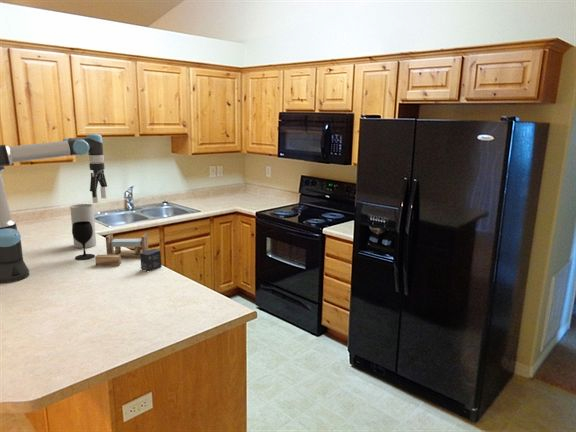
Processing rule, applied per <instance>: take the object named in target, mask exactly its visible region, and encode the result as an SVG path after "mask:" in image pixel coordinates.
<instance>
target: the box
mask: <svg viewBox="0 0 576 432" xmlns="http://www.w3.org/2000/svg"><path fill="white" fill-rule="evenodd" d="M161 254H162V253H161V250H160V249H156V248H152V249H148V251H145V252H142V253H140V258H139V260H140V270H141V269H142V271H143V270H146V271H145V272H147V271H149V272H151V271H153V269H154V270H156V269H159V268H162V255H161ZM150 270H151V271H150Z"/></svg>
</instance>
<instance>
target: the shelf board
mask: <svg viewBox="0 0 576 432" xmlns="http://www.w3.org/2000/svg"><path fill="white" fill-rule="evenodd" d="M111 245H112V247H114V248H115V247H121V248H126V247H127V248H131V247H132V248H135V247H140V248H142V238H113V241H112V242H111Z"/></svg>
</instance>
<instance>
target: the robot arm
mask: <svg viewBox="0 0 576 432" xmlns="http://www.w3.org/2000/svg"><path fill="white" fill-rule="evenodd" d="M86 154H88V163H89V165H88V167H89V170H90V171H92V172H90V186H89V192H91V195H92V196H91V198H92V204H99V195H98V194H99V193H98V186H99V185H100V187H99V188H100V199H107V189H106V188H108V183H107V179H106V175H105V163H104V162H105V156H104V146H103V136H102V135H101V134H99V133H90V134H87V135H86V137H80V138H79V137H75V138H74V137H72V138H71V137H67V138H66V137H65V138H63V139H62V140H61V141H60V140H59V141H51V142H40V143H30V144H21V145H12V146H11V145H10V146H8V145H7V144H0V283H1V284H2V283H3V284H4V283H5V284H6V283H14V282H18V281H21V280H24V279H26V278H28V277H29V276H30V270H29V268H28V266H27V265H26V262H25V261H24V256H23V254H24V253H23V249H22V248H23V247H22V239H21V238H22V236H21V234H20V231H19V230H18V226H17V222H16V221H14V220H13V219H12V215H11V211H10V207H9V201H8V197H7V192H6V188H5V187H6V186H5V183H4V178H3V172H4V171H5V167H7V166H11V165H12V164H13V163H23V162H28V161H36V160H38V161H39V160H45V159H51V158H60V157H61V158H62V157H70V156H78V155H79V156H83V155H84V156H85V155H86Z"/></svg>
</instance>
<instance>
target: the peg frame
mask: <svg viewBox="0 0 576 432" xmlns="http://www.w3.org/2000/svg"><path fill="white" fill-rule="evenodd" d="M113 235H114V234H113V233H109V234H108V235H106V236H105V245H106V246H105V247H106V255H118V254H121V258H125V259H140V253H142V252H145V251H148V250H149V237H148V233H147V232H145V233H143V235H142V236H141V239H142V246H141V247H134V249H133V250H132V249H131V250H129V249H126V250H125V249H124V250H123V249H121V248H122V247H112V245H111V242H112V241H113V240H114V236H113Z"/></svg>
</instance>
